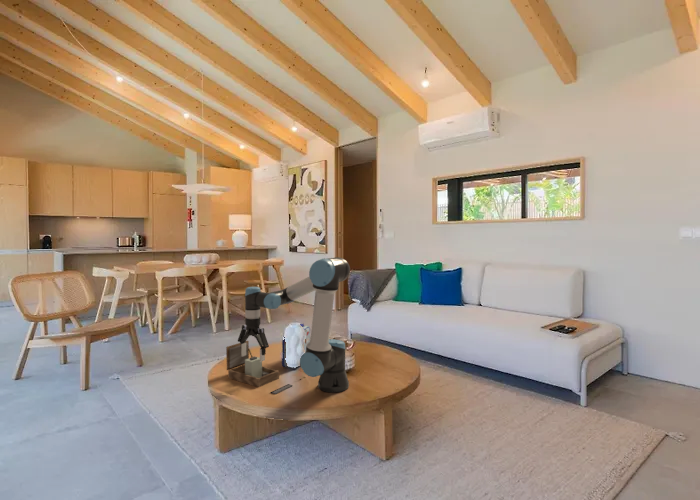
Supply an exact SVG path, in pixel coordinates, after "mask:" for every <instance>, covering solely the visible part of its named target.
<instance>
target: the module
mask: <svg viewBox="0 0 700 500" xmlns="http://www.w3.org/2000/svg"><path fill="white" fill-rule="evenodd" d="M244 365H245V374H246V375H250V376H253V377H256V378H260V377H262V366H263V361H262V362H260V356H253V357H251V356H250V357H249V359H246V360H245V364H244Z"/></svg>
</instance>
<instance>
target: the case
mask: <svg viewBox="0 0 700 500" xmlns="http://www.w3.org/2000/svg"><path fill="white" fill-rule="evenodd" d="M245 343H246V356H243V357H242V356H241V343H240V342H237V343H236V344H230V345H228V346H226V347H225V349H226V371H228V379H230V380H234V381H237V382H240V383H244V384H247V385H250V386H253V387H256V388H261V387H263V386H265V385H267V384H269V383H272V382H274V381H276V380H279V379H280V370H278V369H277V370H276V369H274V368H269V367H266V366H263V365H262V377H260V378H256V377H253V376H250V375H246V374H245V360H246V359H249V358H251V357H254V356H253V354H252V351H251V349H250V348H249V340H246V342H245ZM249 355H250V356H249Z"/></svg>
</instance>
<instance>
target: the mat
mask: <svg viewBox="0 0 700 500" xmlns="http://www.w3.org/2000/svg"><path fill="white" fill-rule="evenodd" d="M290 388H293V384H290V383H288V384H285V385H283V386H281V387H279V388H276V389H275V390H272V391H270V392H269V393H270V394H273V395H277V394H279V393H281V392H283V391H285V390H287V389H290Z"/></svg>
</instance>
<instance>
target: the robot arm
mask: <svg viewBox="0 0 700 500" xmlns="http://www.w3.org/2000/svg"><path fill="white" fill-rule="evenodd" d="M350 272H351V267H350V264H349V262H348V261H347V260H346V259H344V258H343V257H339V256H337V257H336V256H335V257H329V258H328V257H327V258H325V257H324V258H321V259H318V260H316V261H315V262H313V263H312V264H311V266H310V268H309V274H308V275H309V276H307V277H305V278H303V279H302V280H299V281H298V282H295V283H293V284H291V285H289V286H288V287H285V288H283V289H281V290H277V291H270V292H262V291H261V287H259V286H248V287H246V288H245V290H244V291H245V292H244V293H245V294H244V301H245V304H244V305H245V308H244V312H245V313H244V317H245V318H244V319H245V320H244V322H245V323H244V324H242V325H241V330H240V333H239V336H238V339H237V343H241V356H242V357H243V356H246V343H245V342H246V341H248V338H250V336H251V337H254V339H256V342H257V343H258V345H259V347H260V348H259V358H260V362H262V363H263V362H264V361H266V356H265V355H266V349H268V348H269V343H268V339H267V337H266V334H265V328H264V327H262V328H261V327H260V325H261V309H262V308H265V309H268V310H276V309H278V308H280V306H283V305H287V304H291V303H293V302H294V301H295V300H298V299H300V298H301V297H304V296H306V295H308V294H310V293H313V292H314V291H315V293H314V301H313V311H312V320H311V328H310V342H308V343H307V345H306V353H304V354H303V355H302V356H301V358H300V366H299V367H300V369H301V370H302V371H303V373H304V374H305V375H306V376H308V377H311V378H316V377H318V376H319V378H318V382H317V388H318V389H319V390H320V391H322V392H325V393H340V392H345V391H346V390H348V389H349V386H350V382H349V380H348V374H347V372H346V343H345V342H344V340H340V339H333V338H332V339H330V336H331V327H332V326H331V325H332V319H333V309H334V300H335V293H336V292H337V291H338V290H339V286H340V285H339V284H340V283H341V282H343V281H345V280H347V279H348V277H349V275H350Z"/></svg>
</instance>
